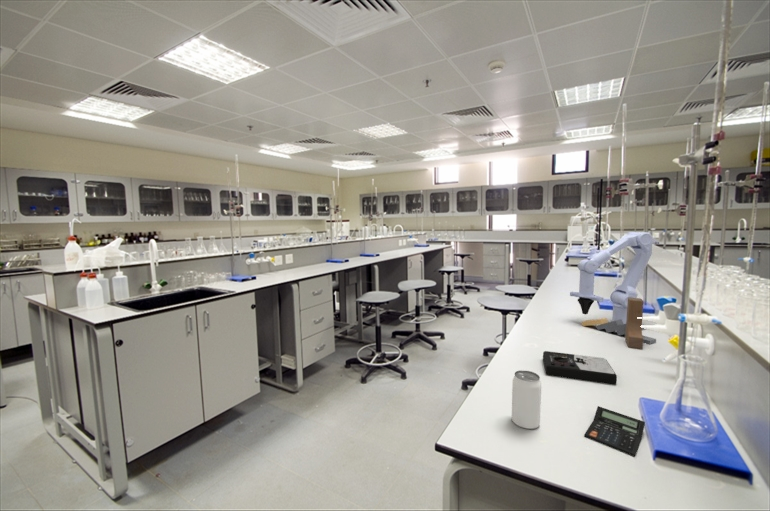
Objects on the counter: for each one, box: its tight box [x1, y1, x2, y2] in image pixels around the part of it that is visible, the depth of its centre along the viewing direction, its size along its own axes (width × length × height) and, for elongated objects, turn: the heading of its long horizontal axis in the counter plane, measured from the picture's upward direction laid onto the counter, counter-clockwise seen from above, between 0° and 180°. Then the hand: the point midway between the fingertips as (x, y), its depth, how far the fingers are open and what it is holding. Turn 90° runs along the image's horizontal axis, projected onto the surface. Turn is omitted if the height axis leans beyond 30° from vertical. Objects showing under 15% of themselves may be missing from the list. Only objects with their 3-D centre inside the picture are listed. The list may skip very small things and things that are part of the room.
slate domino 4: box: [624, 334, 657, 345], centre depth 135 cm, size 5×2×9 cm
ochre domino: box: [580, 317, 608, 327], centre depth 151 cm, size 5×2×9 cm
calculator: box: [583, 405, 646, 458], centre depth 76 cm, size 9×12×3 cm
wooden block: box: [624, 297, 644, 350], centre depth 129 cm, size 9×4×18 cm, turn 150°
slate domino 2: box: [604, 323, 626, 334], centre depth 142 cm, size 5×2×9 cm
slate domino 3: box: [615, 328, 647, 336], centre depth 138 cm, size 5×2×9 cm
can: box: [511, 369, 542, 430], centre depth 80 cm, size 6×6×12 cm
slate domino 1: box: [595, 319, 624, 331], centre depth 145 cm, size 5×2×9 cm
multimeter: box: [542, 350, 618, 386], centre depth 108 cm, size 13×19×5 cm
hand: (585, 313), depth 155 cm, fingers closed
